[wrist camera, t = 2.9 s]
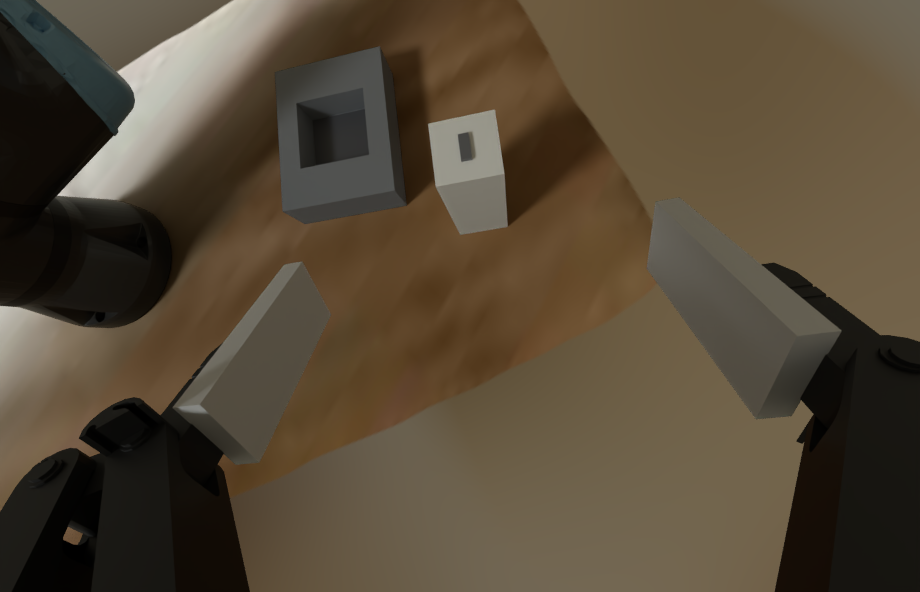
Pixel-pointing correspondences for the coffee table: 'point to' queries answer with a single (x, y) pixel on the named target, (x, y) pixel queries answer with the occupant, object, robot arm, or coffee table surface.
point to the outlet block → (339, 138)
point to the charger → (470, 171)
